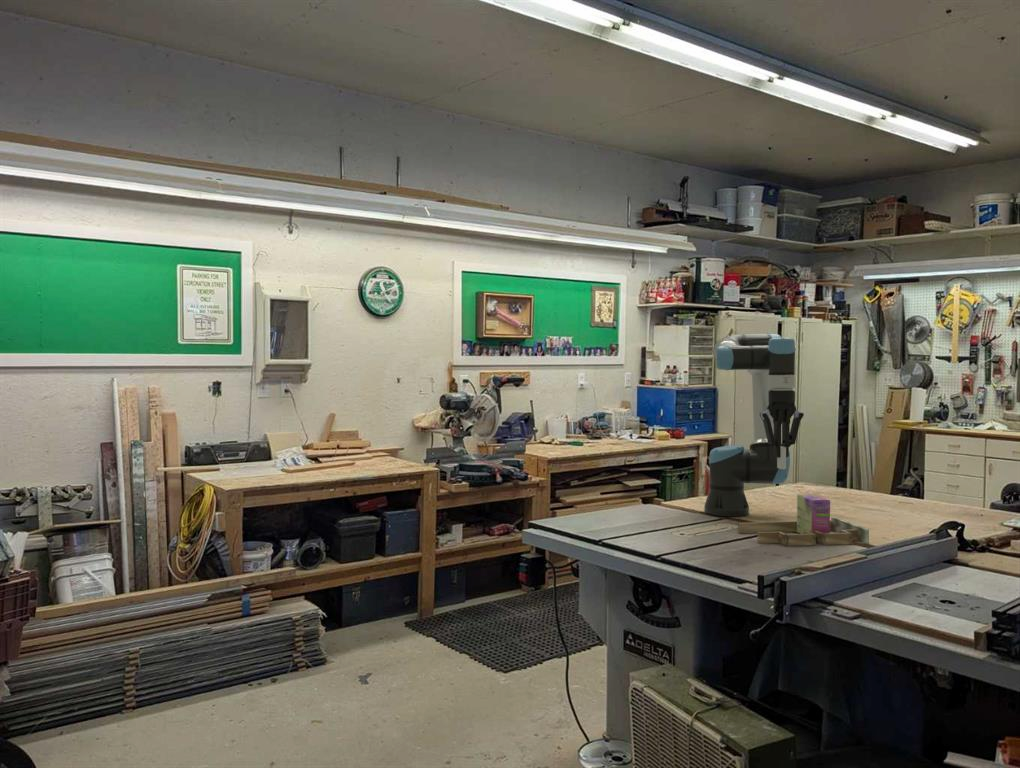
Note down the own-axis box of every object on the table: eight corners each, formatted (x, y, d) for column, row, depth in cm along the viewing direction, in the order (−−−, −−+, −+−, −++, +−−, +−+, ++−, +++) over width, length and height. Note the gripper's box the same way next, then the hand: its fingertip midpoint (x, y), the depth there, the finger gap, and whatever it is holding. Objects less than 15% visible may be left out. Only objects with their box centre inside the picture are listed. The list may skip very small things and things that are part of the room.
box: (830, 539, 225) (830, 499, 225) (811, 540, 225) (811, 499, 225) (814, 532, 235) (814, 493, 235) (796, 532, 235) (796, 494, 235)
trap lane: (738, 532, 236) (738, 519, 235) (834, 529, 239) (834, 517, 239) (764, 546, 217) (764, 532, 217) (868, 543, 220) (868, 529, 220)
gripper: (765, 390, 225) (765, 470, 225) (808, 389, 226) (808, 469, 226) (755, 389, 232) (755, 467, 232) (796, 389, 233) (796, 466, 234)
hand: (781, 468), depth 229 cm, fingers closed
